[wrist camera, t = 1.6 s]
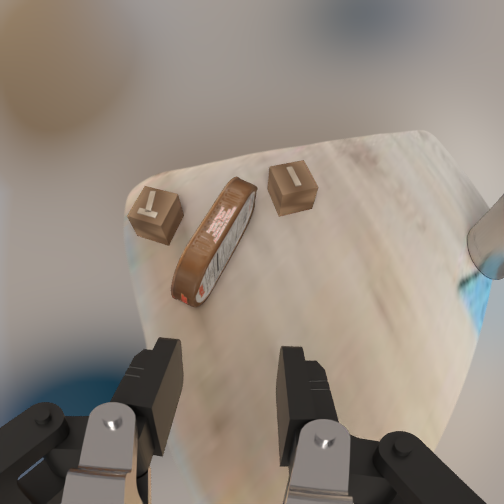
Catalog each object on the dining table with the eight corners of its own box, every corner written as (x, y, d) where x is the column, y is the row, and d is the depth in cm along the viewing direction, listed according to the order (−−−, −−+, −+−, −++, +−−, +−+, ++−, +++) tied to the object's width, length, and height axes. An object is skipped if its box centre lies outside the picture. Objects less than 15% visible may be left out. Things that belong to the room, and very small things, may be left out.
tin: (237, 205, 41) (236, 159, 33) (260, 214, 40) (263, 168, 33) (177, 308, 35) (158, 278, 27) (202, 320, 34) (189, 293, 26)
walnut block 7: (183, 216, 40) (177, 193, 36) (169, 245, 38) (160, 225, 34) (153, 207, 41) (144, 185, 36) (137, 236, 39) (126, 215, 34)
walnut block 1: (298, 182, 43) (303, 159, 39) (311, 209, 41) (318, 186, 37) (267, 189, 42) (269, 165, 38) (279, 216, 40) (282, 194, 36)
